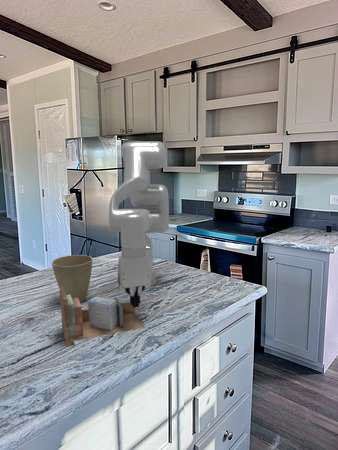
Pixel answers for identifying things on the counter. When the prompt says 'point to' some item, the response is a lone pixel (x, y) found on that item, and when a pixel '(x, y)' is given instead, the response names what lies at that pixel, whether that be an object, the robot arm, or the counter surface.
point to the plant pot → (73, 274)
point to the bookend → (119, 313)
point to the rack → (79, 320)
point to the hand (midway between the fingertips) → (135, 305)
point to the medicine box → (102, 313)
